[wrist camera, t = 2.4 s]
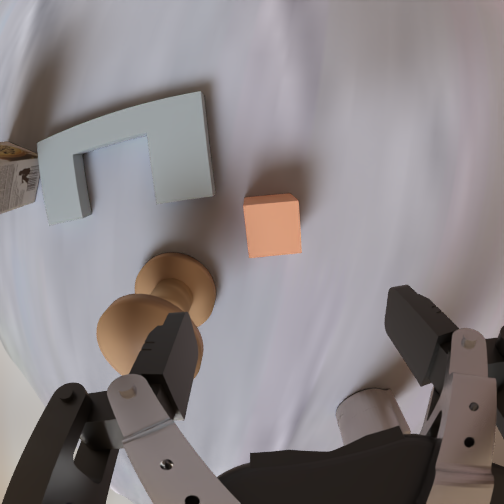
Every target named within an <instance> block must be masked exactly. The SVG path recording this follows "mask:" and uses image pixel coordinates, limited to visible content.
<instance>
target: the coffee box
mask: <svg viewBox="0 0 504 504" xmlns="http://www.w3.org/2000/svg"><path fill="white" fill-rule="evenodd" d="M39 177H40V171H39V162H38V154H37V153H34V152H32V151H29V150H27V149H25V148H22V147H20V146H17V145H15V144H12V143H10V142H7V141H6V142H0V214H2V213H5V212H8V211H10V210H13V209H16V208H19V207H22V206H24V205H27V204H31V203H33V202H35V197H36V191H37V186H38V181H39Z"/></svg>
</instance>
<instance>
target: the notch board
mask: <svg viewBox="0 0 504 504" xmlns="http://www.w3.org/2000/svg"><path fill="white" fill-rule="evenodd" d="M144 136H147V138H148V147H149V155H150V163H151V170H152V177H153V184H154V191H155V197H156V203H157V204H162V203H169V202H175V201H182V200H189V199H196V198H203V197H211V196H214V195H215V194H216V192H215V185H214V177H213V169H212V161H211V152H210V144H209V135H208V126H207V117H206V108H205V98H204V95H203V93H202V92H201V91H199V92H193V93H188V94H183V95H178V96H173V97H169V98H164V99H160V100H156V101H152V102H148V103H144V104H140V105H137V106H133V107H130V108H126V109H123V110H120V111H116V112H113V113H110V114H107V115H104V116H101V117H98V118H95V119H93V120H90V121H87V122H84V123H82V124H79V125H77V126H74V127H72V128H69V129H67V130H64V131H62V132H60V133H57V134H55V135H53V136H51V137H48V138H46V139H44V140H42V141H40V142H38V143H37V152H38V162H39V171H40V178H41V185H42V192H43V197H44V203H45V208H46V213H47V218H48V223H49V226H51V225H55V224H59V223H63V222H68V221H72V220H77V219H82V218H84V217H87V216H89V215H91V214H92V212H91V207H90V202H89V196H88V191H87V184H86V178H85V171H84V163H83V155H82V154H84V153H87V152H90V151H93V150H96V149H100V148H103V147H106V146H110V145H113V144H117V143H120V142H124V141H128V140H132V139H136V138H140V137H144Z"/></svg>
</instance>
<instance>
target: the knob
mask: <svg viewBox="0 0 504 504" xmlns="http://www.w3.org/2000/svg"><path fill="white" fill-rule="evenodd" d="M215 298H216V288H215V284H214V281H213V278H212V276H211V274H210V273H209V271H208V270H207V269H206V268H205V267H204V265H203V264H201V263H200V262H199V261H197V260H196V259H194V258H192V257H190V256H188V255H185V254H182V253H175V252H168V253H163V254H160V255H157V256H155V257H153V258H152V259H151V260H149V261H148V262H147V263H146V265H145V266H144V267H143V268H142V269H141V270H140V272H139V274H138V276H137V278H136V282H135V294H129V295H126V296H123V297H120V298H118V299H117V300H115V301H114V302H113V303H112V304H111V305H110V306H109V307H108V309H107V310H106V311H105V312H104V313H103V315H102V316H101V318H100V319H99V322H98V325H97V341H98V344H99V347H100V350H101V352H102V353H103V355H104V357H105V358H106V360H107V361H108V362H109V364H110V365H111V366H112V367H113V368H114V369H115V370H116V371H117V372H119V373H120V374H121V375H122V376H123V375H127V374H129V373H130V371H131V368H132V366H133V364H134V362H135V360H136V358H137V356H138V354H139V352H140V351H141V348H142V346H143V344H145V340H146V338H147V336H148V334H149V333H150V332H151V331H152V330H153V329H154V328H155V327H157V326H161V325H163V324H164V321H165V319H166V317H167V315H168V313H174V312H188V313H189V315H190V318H191V322H192V326H193V329H194V333H195V337H196V340H197V344H198V360H197V365H196V369H195V374H194V378H195V377H196V375H197V374H198V372H199V369H200V365H201V361H202V356H203V341H202V337H201V334H200V332H199V330H198V328H197V327H198V326H200V325H201V324H203V323H204V322H205V321H206V320H207V319H208V318H209V316H210V315H211V313H212V310H213V307H214V303H215ZM194 378H193V379H194Z"/></svg>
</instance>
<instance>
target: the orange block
mask: <svg viewBox="0 0 504 504" xmlns="http://www.w3.org/2000/svg"><path fill="white" fill-rule="evenodd" d="M243 208H244V217H245V226H246V235H247V244H248V252H249V258H255V257H265V256H275V255H285V254H295V253H302V251H301V232H300V215H299V201H298V200H297V199H296V198H295V197H294V196H293V195H292V194H290V193H287V194H275V195H265V196H254V197H245V198H244V204H243Z"/></svg>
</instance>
